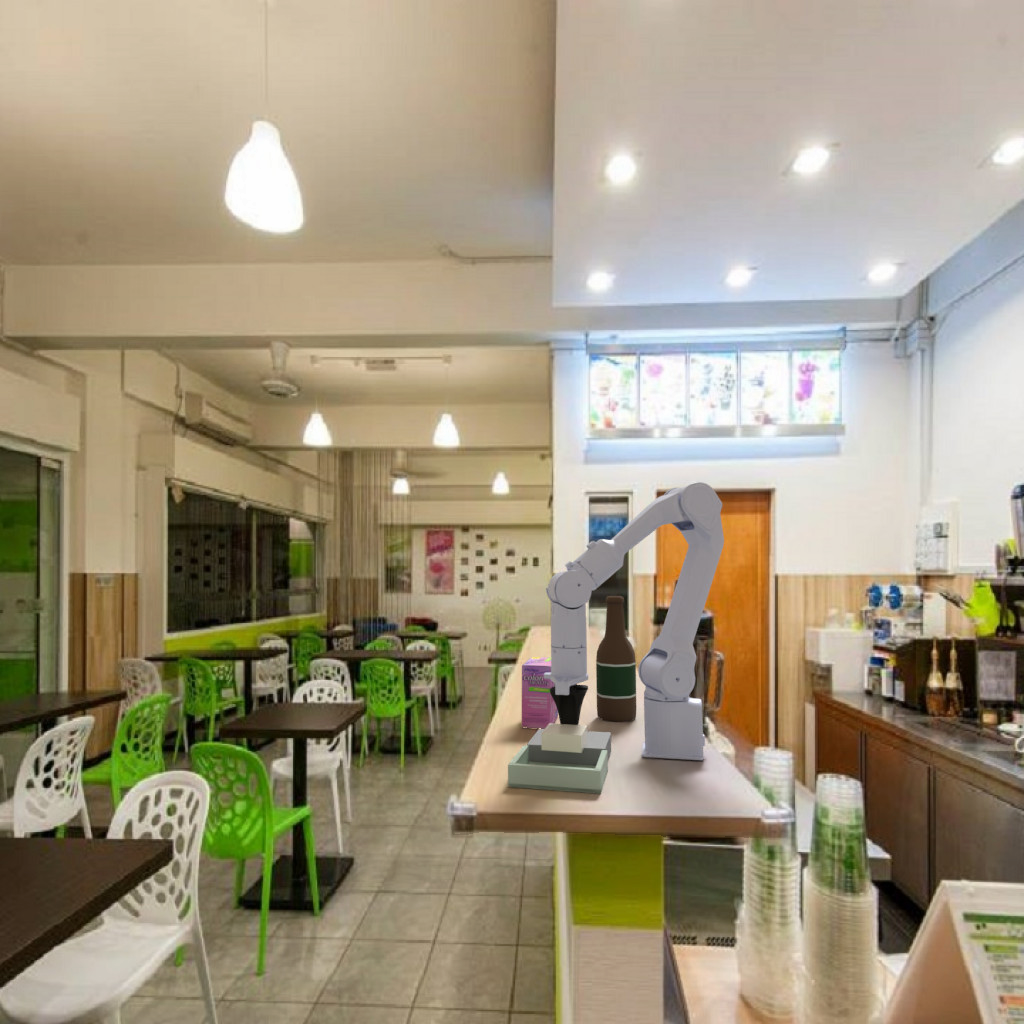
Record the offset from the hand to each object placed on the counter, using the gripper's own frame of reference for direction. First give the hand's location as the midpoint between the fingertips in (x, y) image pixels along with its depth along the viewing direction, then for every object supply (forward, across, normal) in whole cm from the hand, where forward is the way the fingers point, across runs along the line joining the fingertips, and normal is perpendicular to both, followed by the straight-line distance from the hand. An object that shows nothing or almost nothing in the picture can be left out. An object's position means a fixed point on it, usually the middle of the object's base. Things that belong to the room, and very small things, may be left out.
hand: (569, 732), depth 108 cm
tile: (+1, +4, 0) cm, 4 cm away
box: (+4, -22, -9) cm, 24 cm away
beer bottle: (+4, -29, +5) cm, 30 cm away
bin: (+4, +10, 0) cm, 11 cm away
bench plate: (+4, 0, 0) cm, 4 cm away
